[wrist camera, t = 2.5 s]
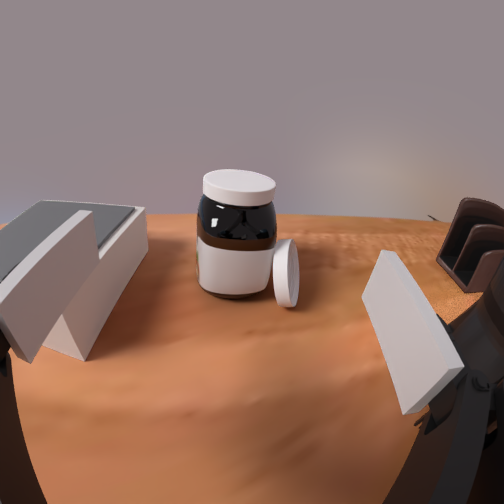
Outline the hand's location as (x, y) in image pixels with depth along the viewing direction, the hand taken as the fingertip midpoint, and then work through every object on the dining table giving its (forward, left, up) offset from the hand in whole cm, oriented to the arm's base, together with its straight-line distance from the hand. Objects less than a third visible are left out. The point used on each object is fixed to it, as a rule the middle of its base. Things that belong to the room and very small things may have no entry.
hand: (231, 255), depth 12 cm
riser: (+21, -10, -13) cm, 26 cm away
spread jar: (-1, -15, -13) cm, 20 cm away
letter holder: (-46, -23, -13) cm, 53 cm away
